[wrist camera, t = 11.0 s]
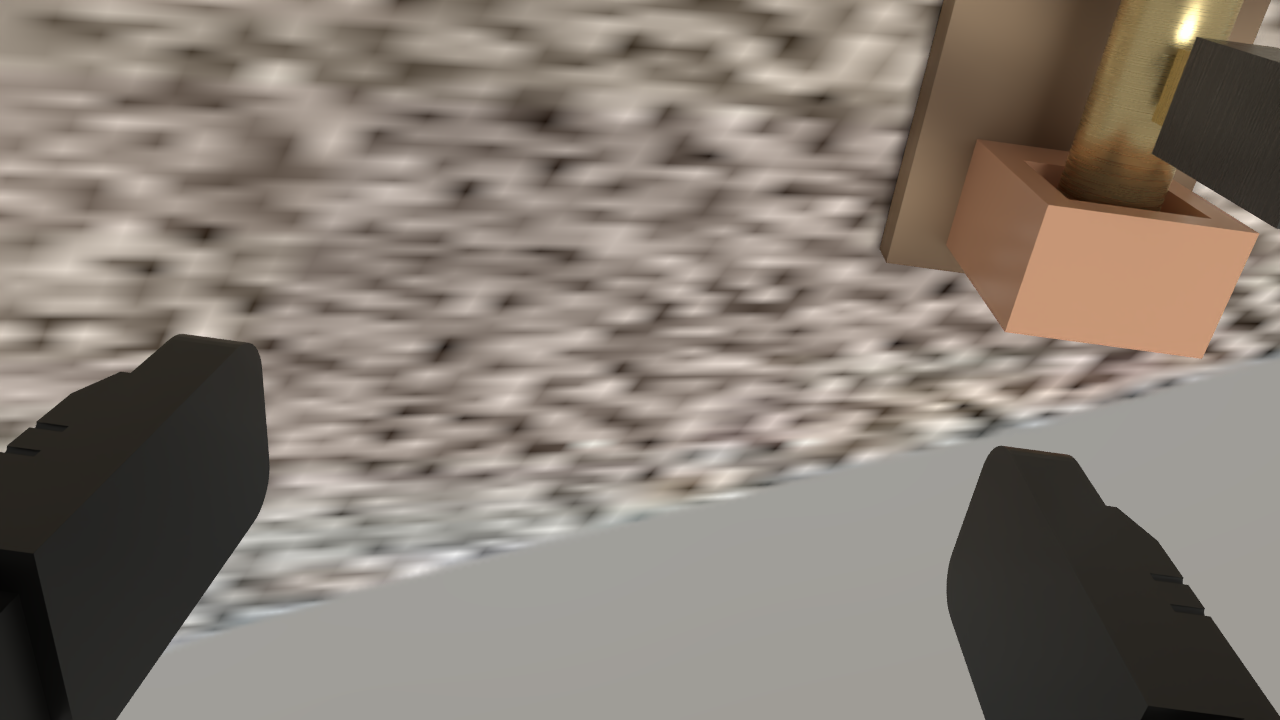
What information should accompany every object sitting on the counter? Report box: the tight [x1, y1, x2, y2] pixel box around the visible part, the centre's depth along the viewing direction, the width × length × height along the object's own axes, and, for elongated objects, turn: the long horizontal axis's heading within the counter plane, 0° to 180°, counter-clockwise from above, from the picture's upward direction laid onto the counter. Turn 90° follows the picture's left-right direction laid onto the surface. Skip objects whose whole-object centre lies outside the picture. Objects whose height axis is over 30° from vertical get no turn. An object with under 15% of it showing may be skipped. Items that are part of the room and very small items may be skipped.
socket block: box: [946, 139, 1259, 359], centre depth 30 cm, size 4×6×8 cm, turn 83°
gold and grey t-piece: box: [1057, 0, 1280, 229], centre depth 23 cm, size 13×3×11 cm, turn 173°
